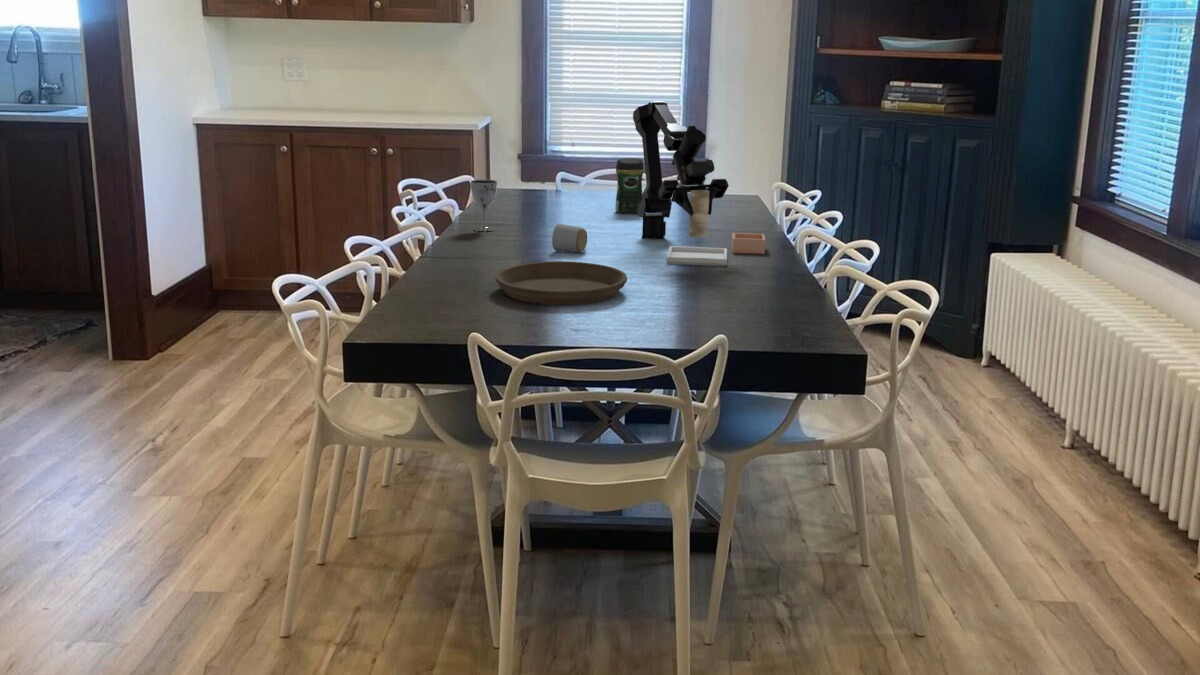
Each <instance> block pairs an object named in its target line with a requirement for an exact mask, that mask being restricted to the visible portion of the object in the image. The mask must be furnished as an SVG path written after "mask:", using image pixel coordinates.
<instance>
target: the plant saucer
mask: <svg viewBox="0 0 1200 675" xmlns="http://www.w3.org/2000/svg"><path fill="white" fill-rule="evenodd" d="M494 278H495V282H496V283H497V285H498V286H499V288H500V289H502V290H503V291H504V293H505V294H506V295H507V296H508V297H509V296H510V297H509V298H511V297H512V298H511V299H513V298H515V299H514V300H516V299H518V300H517V301H519V300H523V301H527V302H526V303H529V302H533V303H532V304H535V303H542V304H541V305H545V304H552V305H551V306H578V305H579V306H582V305H590V304H597V303H601V302H604V301H605V302H606V301H609V300H611V299H613V298H614V297H616V296H617V294H618V293H619V291H620V290H621V289H623V287H625V284H626V283H627V281H628V276H627V274H626V273H625V272H624V271H623V270H620V269H618V268H615V267H612V266H608V265H604V264H598V263H591V262H584V261H583V262H581V261H565V260H564V261H562V260H560V261H557V260H556V261H539V262H536V261H535V262H529V263H528V262H527V263H521V264H516V265H512V266H508V267H506V268H502V269H501V270H499V271H497V272H496V274H495V275H494ZM523 301H522V302H523Z"/></svg>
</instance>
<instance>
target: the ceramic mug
mask: <svg viewBox="0 0 1200 675" xmlns="http://www.w3.org/2000/svg"><path fill="white" fill-rule="evenodd" d="M587 243H588V233H587V230H586V229H585V228H583V227H580V226H576V225H569V224H564V223H557V224H556V226H554V228H553V231H552V238H551V244H552V248H553V250H554V251H555V252H561V251H564V252H563V253H572V252H573V254H580V253H582V252H584V251H585V249H586V247H587Z"/></svg>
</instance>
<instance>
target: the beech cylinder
mask: <svg viewBox="0 0 1200 675" xmlns="http://www.w3.org/2000/svg"><path fill="white" fill-rule="evenodd" d="M689 198H690V199H689V201H690V204H691V207H692V211H693V215H692V216H690V215H689V224H688V226H689V227H688V236H689V237H692V238H706V237H708V234H709V233H708V232H709V231H708V227H709V226H708V225H709V214H708V211H709V191H706V190H691V193H690V197H689Z"/></svg>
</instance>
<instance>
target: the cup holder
mask: <svg viewBox="0 0 1200 675" xmlns="http://www.w3.org/2000/svg"><path fill="white" fill-rule="evenodd" d="M731 253H733V254H735V253H736V254H737V253H738V254H758V255H759V254H760V255H761V254H762V255H765V253H766V236H765V233H747V232H746V233H745V232H744V233H743V232H742V233H739V232H732V233H731Z"/></svg>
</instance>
